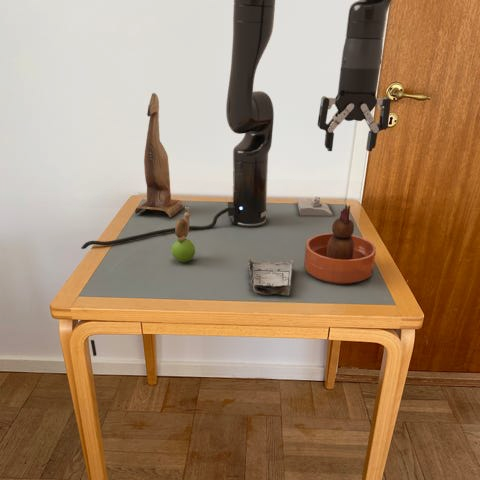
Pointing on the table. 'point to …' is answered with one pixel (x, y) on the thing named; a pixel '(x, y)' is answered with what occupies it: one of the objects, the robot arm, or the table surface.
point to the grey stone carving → (313, 207)
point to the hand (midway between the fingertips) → (349, 150)
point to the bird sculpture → (157, 167)
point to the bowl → (339, 260)
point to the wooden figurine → (342, 237)
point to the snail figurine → (183, 240)
